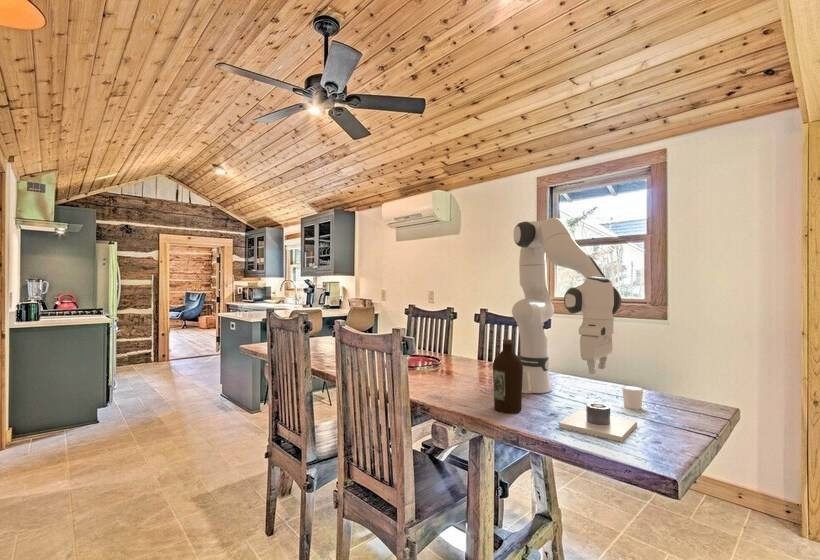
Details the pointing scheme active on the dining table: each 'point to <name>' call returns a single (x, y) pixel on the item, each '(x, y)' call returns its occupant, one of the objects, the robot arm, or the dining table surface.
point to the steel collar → (598, 414)
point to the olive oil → (507, 380)
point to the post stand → (614, 430)
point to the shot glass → (632, 397)
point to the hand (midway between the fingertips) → (597, 371)
